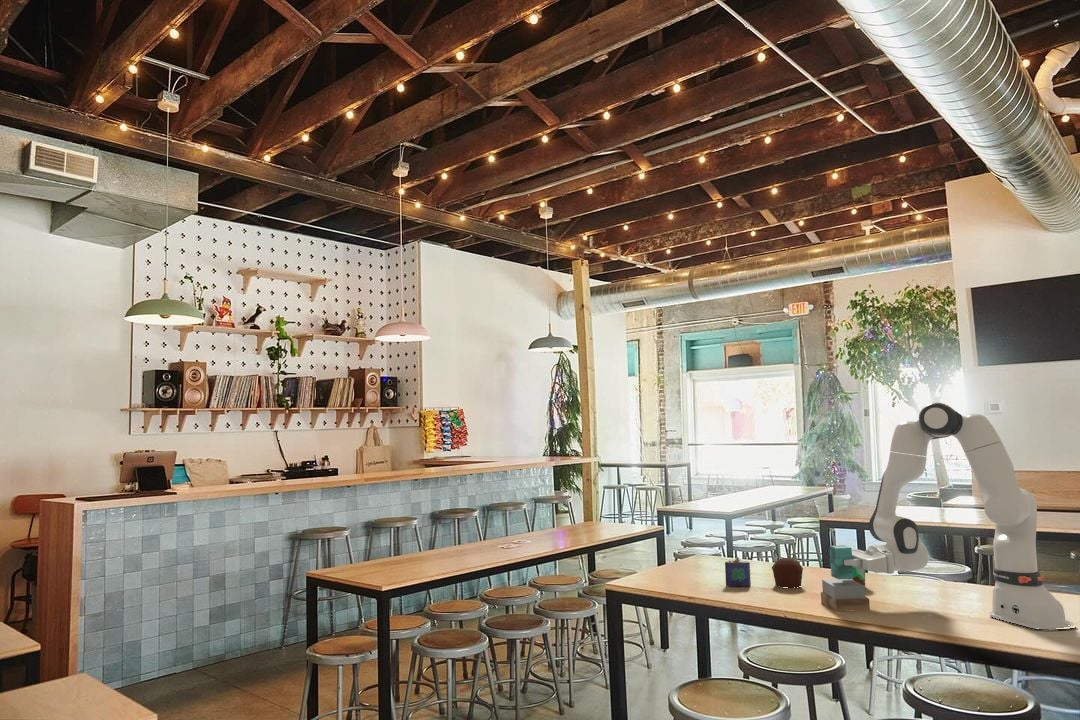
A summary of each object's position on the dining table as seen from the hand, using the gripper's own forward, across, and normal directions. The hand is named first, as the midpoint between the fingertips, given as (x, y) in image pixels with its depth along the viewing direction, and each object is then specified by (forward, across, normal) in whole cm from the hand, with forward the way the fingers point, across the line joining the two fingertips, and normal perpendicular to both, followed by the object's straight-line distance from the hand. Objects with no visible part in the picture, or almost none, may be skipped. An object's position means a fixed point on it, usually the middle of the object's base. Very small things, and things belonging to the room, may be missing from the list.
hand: (838, 560), depth 237 cm
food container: (-21, -26, +15) cm, 37 cm away
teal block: (-1, 0, +6) cm, 6 cm away
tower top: (-1, 0, +11) cm, 11 cm away
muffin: (+4, -31, +15) cm, 35 cm away
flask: (+22, -34, +15) cm, 43 cm away
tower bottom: (-1, 0, +15) cm, 15 cm away
